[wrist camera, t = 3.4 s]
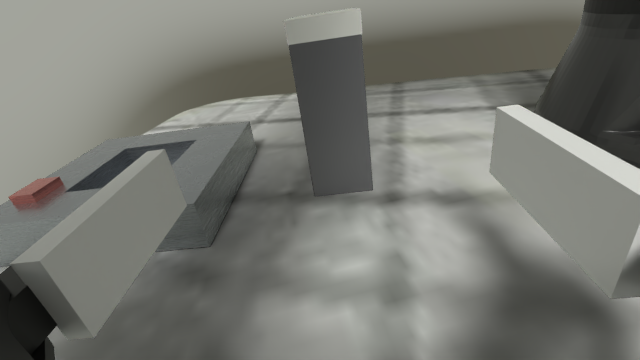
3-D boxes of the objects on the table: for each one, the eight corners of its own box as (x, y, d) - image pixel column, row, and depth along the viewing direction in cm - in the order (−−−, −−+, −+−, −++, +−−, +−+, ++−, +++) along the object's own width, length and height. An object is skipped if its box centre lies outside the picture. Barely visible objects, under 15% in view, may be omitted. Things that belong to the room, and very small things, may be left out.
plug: (366, 158, 27) (354, 7, 22) (373, 190, 22) (360, 8, 17) (316, 164, 27) (292, 17, 22) (313, 196, 23) (283, 21, 17)
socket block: (256, 151, 32) (247, 115, 30) (209, 246, 19) (190, 194, 18) (120, 167, 33) (104, 134, 31) (-6, 267, 20) (-44, 220, 19)
